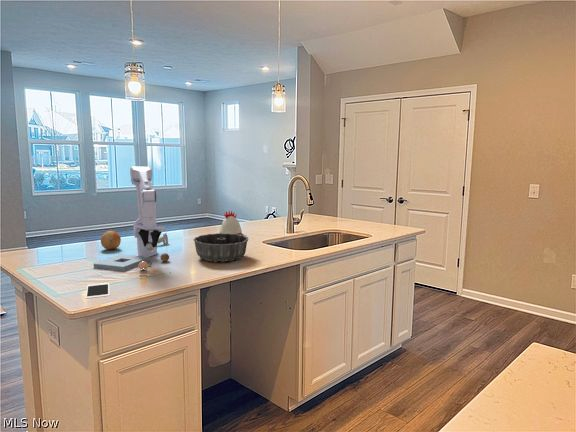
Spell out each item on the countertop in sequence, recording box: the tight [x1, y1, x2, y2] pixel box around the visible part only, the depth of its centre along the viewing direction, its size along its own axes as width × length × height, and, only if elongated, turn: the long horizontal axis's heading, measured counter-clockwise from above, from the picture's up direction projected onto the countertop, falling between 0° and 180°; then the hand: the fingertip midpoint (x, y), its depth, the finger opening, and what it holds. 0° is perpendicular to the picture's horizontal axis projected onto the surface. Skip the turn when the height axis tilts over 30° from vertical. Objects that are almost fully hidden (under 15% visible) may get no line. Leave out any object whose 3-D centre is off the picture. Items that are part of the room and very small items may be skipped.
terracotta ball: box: [137, 261, 149, 271], centre depth 182 cm, size 4×4×4 cm
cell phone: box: [85, 282, 111, 299], centre depth 156 cm, size 8×16×1 cm, turn 23°
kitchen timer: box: [219, 210, 243, 236], centre depth 263 cm, size 14×14×15 cm
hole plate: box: [93, 253, 151, 272], centre depth 191 cm, size 18×16×2 cm
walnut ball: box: [159, 252, 170, 263], centre depth 197 cm, size 4×4×4 cm
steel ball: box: [146, 242, 155, 250], centre depth 189 cm, size 4×4×4 cm
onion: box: [100, 230, 122, 250], centre depth 220 cm, size 10×10×10 cm
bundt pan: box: [193, 232, 249, 263], centre depth 204 cm, size 26×26×10 cm
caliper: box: [157, 232, 169, 245], centre depth 228 cm, size 20×1×6 cm, turn 151°
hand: (150, 246), depth 189 cm, fingers closed on steel ball, 4 cm apart
